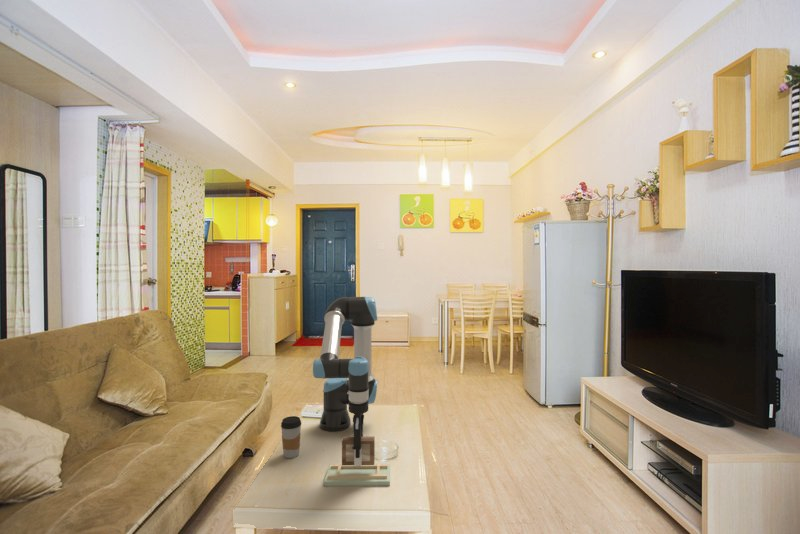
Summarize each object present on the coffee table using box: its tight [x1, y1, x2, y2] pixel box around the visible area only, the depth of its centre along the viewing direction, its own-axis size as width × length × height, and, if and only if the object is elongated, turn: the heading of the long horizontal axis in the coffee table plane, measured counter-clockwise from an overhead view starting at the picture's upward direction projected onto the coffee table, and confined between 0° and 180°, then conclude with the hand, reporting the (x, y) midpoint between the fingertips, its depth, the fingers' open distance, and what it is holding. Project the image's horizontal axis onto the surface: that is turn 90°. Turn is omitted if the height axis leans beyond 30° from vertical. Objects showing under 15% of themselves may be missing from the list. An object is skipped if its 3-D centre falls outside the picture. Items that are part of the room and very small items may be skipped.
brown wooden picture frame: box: [341, 435, 376, 465], centre depth 147 cm, size 4×12×9 cm, turn 91°
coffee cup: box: [280, 415, 302, 459], centre depth 164 cm, size 8×8×15 cm
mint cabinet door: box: [323, 463, 391, 487], centre depth 148 cm, size 12×24×3 cm, turn 91°
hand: (358, 461), depth 147 cm, fingers closed on brown wooden picture frame, 4 cm apart
